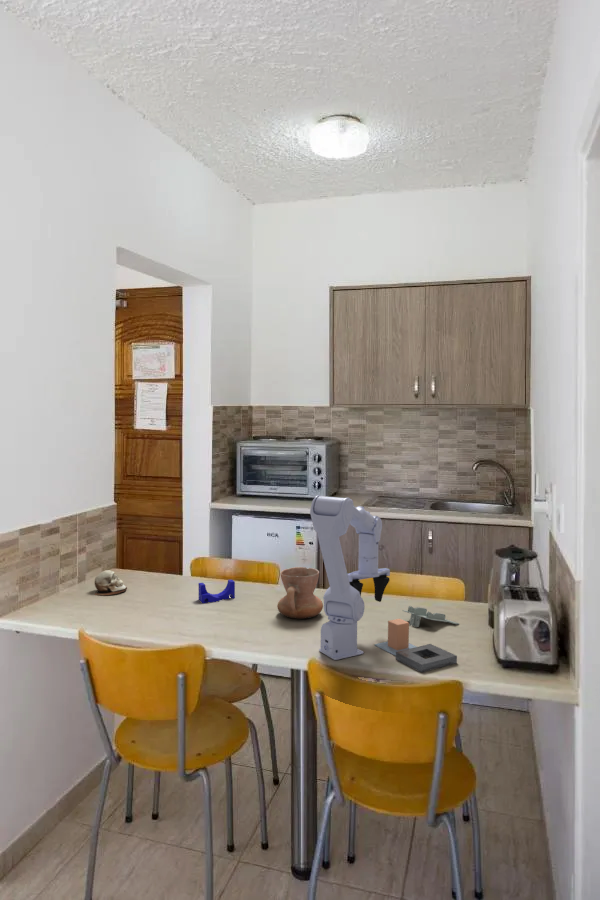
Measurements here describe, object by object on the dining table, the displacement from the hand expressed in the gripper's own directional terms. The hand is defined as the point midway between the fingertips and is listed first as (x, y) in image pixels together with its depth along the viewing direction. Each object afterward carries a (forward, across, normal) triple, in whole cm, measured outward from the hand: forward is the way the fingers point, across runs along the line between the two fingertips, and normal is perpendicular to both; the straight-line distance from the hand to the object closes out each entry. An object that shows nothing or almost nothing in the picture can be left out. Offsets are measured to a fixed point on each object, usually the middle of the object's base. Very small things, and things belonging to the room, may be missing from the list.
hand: (367, 602), depth 190 cm
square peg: (+9, +1, -13) cm, 16 cm away
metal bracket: (+10, +23, 0) cm, 25 cm away
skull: (+10, -52, +82) cm, 98 cm away
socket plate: (+9, +1, -24) cm, 26 cm away
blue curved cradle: (+10, -23, +54) cm, 60 cm away
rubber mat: (+9, +1, -12) cm, 16 cm away
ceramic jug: (+10, -8, +25) cm, 28 cm away
